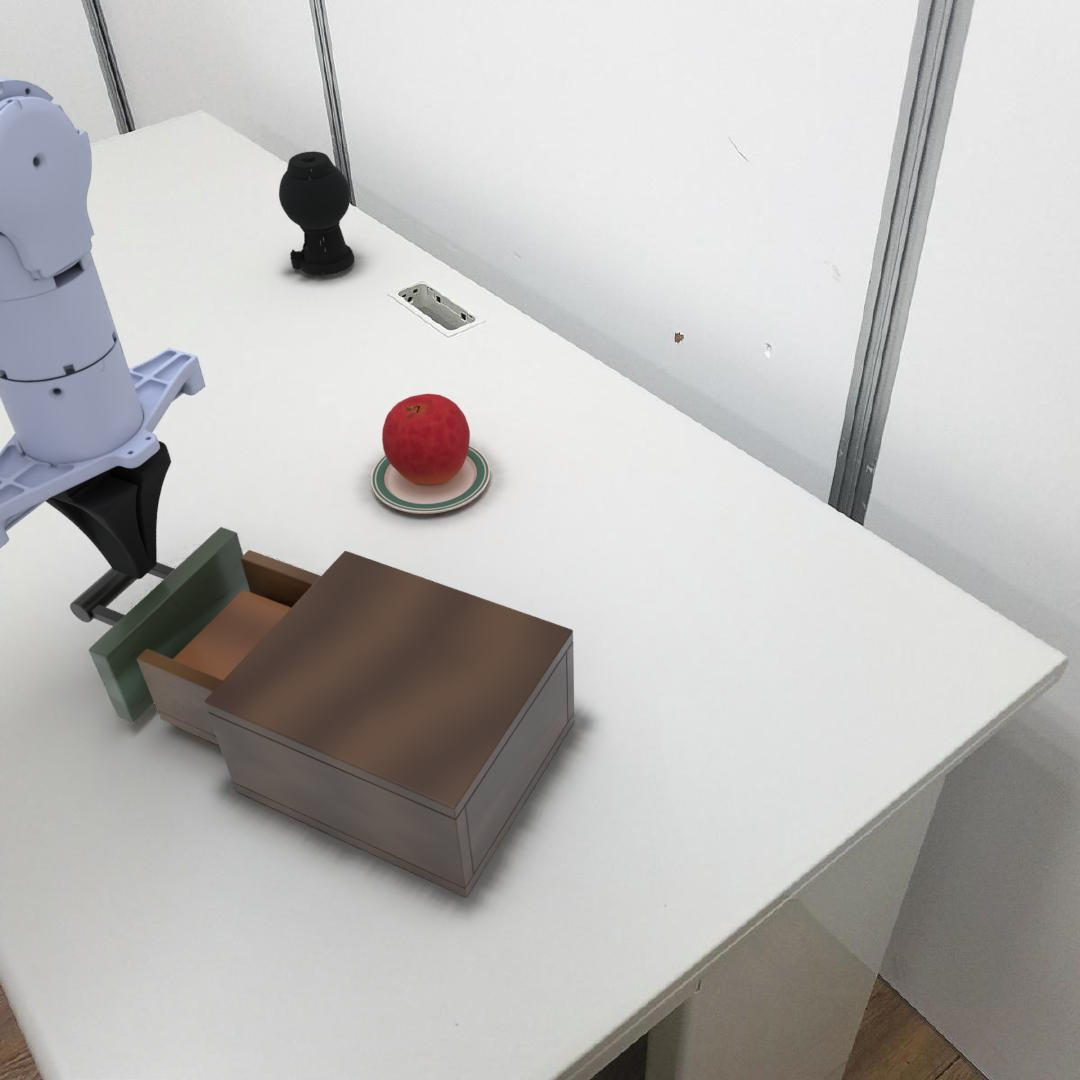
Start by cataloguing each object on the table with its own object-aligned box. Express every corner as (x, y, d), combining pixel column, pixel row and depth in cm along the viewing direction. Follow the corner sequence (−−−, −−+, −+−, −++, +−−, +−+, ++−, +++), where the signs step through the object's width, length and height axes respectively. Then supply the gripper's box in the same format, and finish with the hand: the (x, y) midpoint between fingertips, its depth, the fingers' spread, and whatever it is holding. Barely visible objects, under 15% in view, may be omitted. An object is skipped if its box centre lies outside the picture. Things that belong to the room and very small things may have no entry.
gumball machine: (289, 253, 100) (267, 144, 93) (354, 243, 101) (338, 135, 94) (297, 289, 95) (275, 176, 88) (365, 278, 96) (349, 166, 90)
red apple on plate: (364, 520, 72) (350, 439, 68) (379, 445, 78) (366, 367, 74) (487, 518, 72) (481, 436, 68) (492, 443, 78) (487, 364, 74)
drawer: (55, 688, 61) (22, 621, 57) (181, 570, 68) (159, 504, 64) (307, 803, 55) (288, 735, 51) (418, 661, 62) (408, 592, 58)
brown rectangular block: (240, 717, 58) (230, 687, 56) (180, 692, 59) (169, 661, 57) (308, 641, 62) (301, 610, 60) (251, 618, 63) (242, 588, 61)
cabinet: (235, 791, 57) (202, 700, 52) (362, 640, 64) (344, 549, 59) (466, 898, 52) (454, 809, 47) (574, 721, 59) (573, 629, 55)
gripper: (-10, 459, 44) (92, 684, 53) (225, 291, 53) (278, 507, 63) (-130, 416, 46) (-13, 638, 56) (114, 262, 56) (181, 473, 65)
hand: (134, 566), depth 59 cm, fingers closed
